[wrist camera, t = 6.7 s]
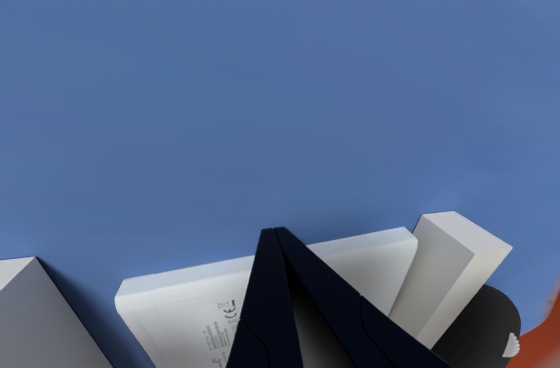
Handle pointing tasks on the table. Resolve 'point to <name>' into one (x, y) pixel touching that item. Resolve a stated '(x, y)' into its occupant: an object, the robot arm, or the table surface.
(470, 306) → the computer mouse
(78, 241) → the table surface
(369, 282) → the external hard drive
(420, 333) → the dock
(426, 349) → the robot arm
